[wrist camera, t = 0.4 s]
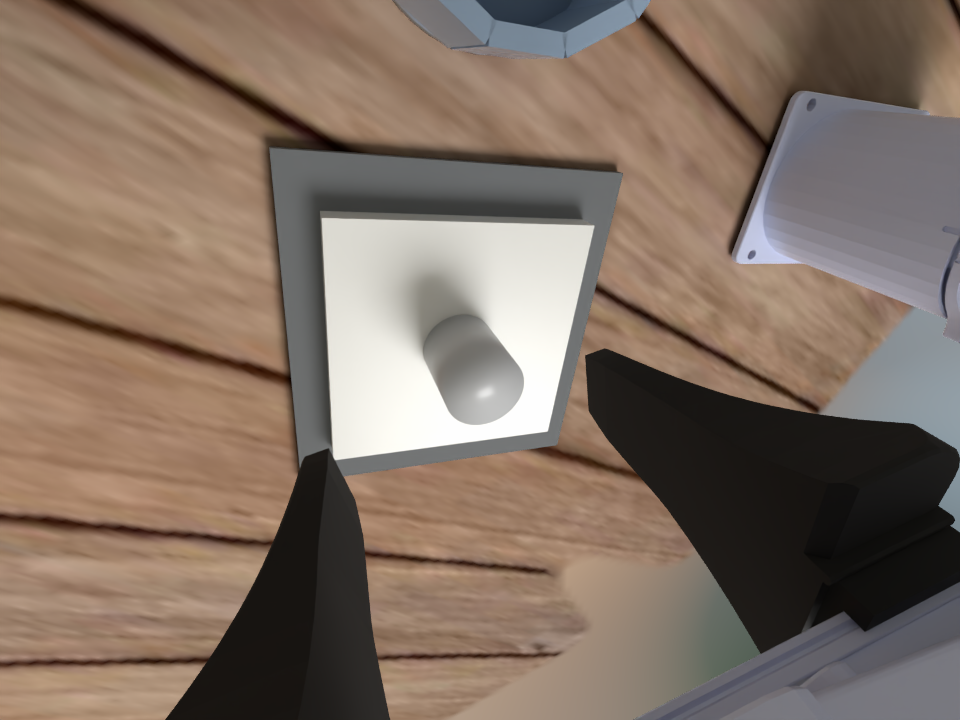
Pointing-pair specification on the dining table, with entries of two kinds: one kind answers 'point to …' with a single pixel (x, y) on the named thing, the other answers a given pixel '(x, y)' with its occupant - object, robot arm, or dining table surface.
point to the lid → (445, 325)
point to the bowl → (521, 24)
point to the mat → (415, 190)
